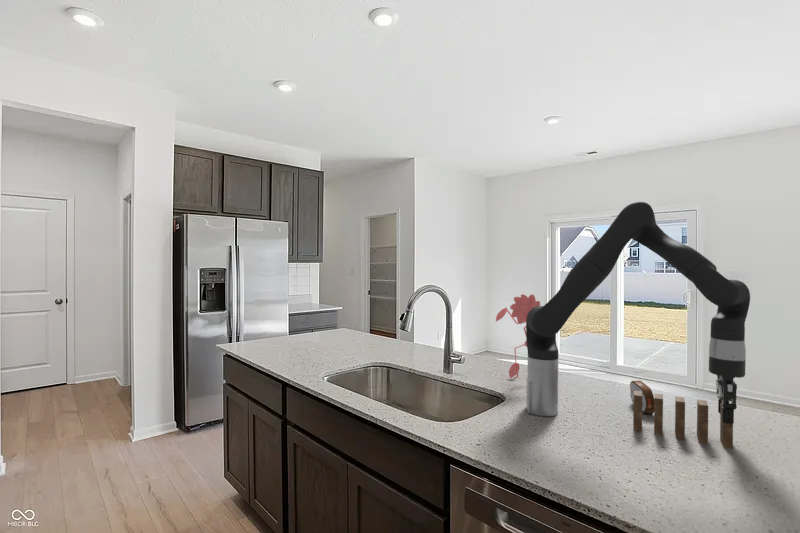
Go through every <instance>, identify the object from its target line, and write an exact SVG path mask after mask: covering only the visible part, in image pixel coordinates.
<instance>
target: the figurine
mask: <svg viewBox="0 0 800 533" xmlns="http://www.w3.org/2000/svg"><path fill="white" fill-rule="evenodd" d="M513 302H514V303H512V304H511V305H510V306H509V308H510V310H512V312H510V311H509V310H508V307H504V308H502V309H501V310H499V312H498V313H497V314H496V316H495V322H498V321H500V320H501V319H503V317H505V316H506V313H508V315H509V316H510V318H512V320H513V321H514V323H516V325H522V324H524V323H525V324H526V319H527V315H528V313H529V311H530V310H531V309H532V308H534V307H536V306H541V301H539V300H536V296H535V295H534V294H530V295H529V296H527V295H526V294H524V293H523V294H520V296H514V297H513ZM515 318H516V319H515ZM523 332H524V334H525V336H526V325H525V326H524V327H523ZM523 346H525V347H526V348H527V344H526V340H525V341H524V344H522V345H519V346H516V347H514V349H513V350H514V360H515V361H514V363H513V364H512V365H511V366H510V367H509V370H508V377H509V379H512V378H514V377H515V376H516V377H519V371H520V364H519V363H518V362H517V353H516V351H517V350H516V349H518V348H521V347H523Z"/></svg>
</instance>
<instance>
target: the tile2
mask: <svg viewBox="0 0 800 533" xmlns="http://www.w3.org/2000/svg"><path fill="white" fill-rule="evenodd" d="M653 396H654V413H653V420H654V421H653V424H654V425H653V435H656V436H662V437H663V434H664V433H663V432H664V431H663V429H664V428H663V426H664V420H663V419H664V395H663V394H661V393H656V392H655V393H654V394H653Z"/></svg>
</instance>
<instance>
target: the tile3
mask: <svg viewBox="0 0 800 533" xmlns="http://www.w3.org/2000/svg"><path fill="white" fill-rule="evenodd" d="M674 399H675V401H674V402H675V403H674V404H675V405H674V408H675V409H674V413H675V414H674V416H675V417H674V418H675V419H674V433H675V434H674V435H675V439H677V440H678V439H679V440H683V441H686V436H685V435H686V400H685V397H683V396H675V398H674Z"/></svg>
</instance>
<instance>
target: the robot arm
mask: <svg viewBox="0 0 800 533" xmlns="http://www.w3.org/2000/svg"><path fill="white" fill-rule="evenodd" d="M656 222H657V221H656V215H655V213H654V210H653V208H652V206H651V205H650V204H649V203H647V202H645V201H635V202H632V203H629V204H628V205H626V206H624V208H623V209H622V210H621V211H620V212H619V214H618V215H617V216H616V217H615V219H614V221H613V222H612V223H611V225H610V226H609V227H608V228H607V229H606V231H605V232H604V233H603V234H602V236H601V237H600V238H598V240H597V241H596V242H595V243H594V244H593V245H592V246H591V248H590V249H588V251H587V252H586V253H585V254H584V255H582V257H581V258H580V259H579V260H578V261H577V262H576V263H575V264H574V266H573V267H572V268H571V269H570V271H569V272H568V273H567V276H566V277H565V279H564V281H563V283H562V284H561V287H560V288H559V290H558V291H557V292H556V293H555V295H554V296H552V298H550V300H548V302H546V304H544V305H540V306H536V307H534V308H532V309H531V310H530V311H529V313H528V315H527V319H526V322H525V324H526V325H525V326H526V328H525V330H526V335H525V337H526V338H525V341H526V344H527V347H526V349H527V377H526V386H527V387H526V391H525V392H526V396H525V397H526V398H525V399H526V401H525V402H526V411H527V413H528V414H532V415H535V416H541V417H553V416H554V417H555V416H558V414H559V348H558V345H557V341H556V340H557V336H556V334H558V332H560V331H561V329H562V328H563V326H564V325H565V324H566V322H567V321H568V320H569V318H570V317H571V316H572V314H573V313H574V312H575V310H576V309H577V308H578V307H579V306H580V305H581V304H582V303H583V302H584V301H585V300H586V299H587V298H588V297H589V296H590V295H591V294H592V293H593V292H594V291H595V290H596V289H597V288H598V287H599V286H600V285H601V284H602V283H603V282H604V281H605V279H607V277H608V276H609V275H610V273H611V272H612V271H613V270H614V267H615V265H616V264H617V262H618V259H619V258H620V255H621V254H622V252H623V250H624V248H625V247H626V245H627V244H628V243H629V242H630V241H631V240H632V241H635V242H637V243H638V244H640V245H642V246H644V247H645V248H647V249H649V250H650V251H652V252H653V253H655V255H657V256H659V257H660V258H662V260H664V261H666V262H667V263H668V264H670V266H672V267H673V268H674V269H675V270H677V271H678V273H679V274H680V273H681V275H683V276H684V277H685V278H686V279H688V280H689V281H690V282H692V283H693V285H694V286H695V287H696V289H697V290H698V291H699V292H700V293H701V295H702V296H703V297H704V298H705V299H706V300H708V301H709V302H710V303H712V304H714V305H715V306H717V309H716V310H717V311H716V314H715V316H714V315H713V317H712V318H711V321H710V338H709V339H710V340H709V345H708V372H709V374H710V373H711V374H713V375H716V376H717V379H715V385H716V386H715V390H716V397H717V399H718V403H717V406H718V408H717V409H718V410H717V412H718V413H719V414H720V403H722V421H723V423H725V424H731V425H732V424H733V425H734V421H735V415H734V414H735V410H736V409H737V408H738V406H737V397H738V396H737V390H738V384H737V383H736V381H735V380H734V379H735V378H738V379H739V378H740V379H741V378H744V377H746V358H747V357H746V356H747V353H746V351H747V350H746V349H747V348H746V344H745V341H746V340H745V339H746V338H745V336H746V335H745V334H746V333H745V332H746V330H745V329H746V327H745V326H746V325H745V324H746V320H747V316H748V313H749V308H750V305H751V304H750V303H751V293H750V292H751V291H750V290H749V287H748V286H747V285H746V283H744V282H742V281H741V280H737V279H728V278H726V277H725V276H724V275H722V274H721V273H720V272H719V271H718V269H717V267H716V265H715V264H714V263H713V262H712V261H711V260H709V259H708V258H707V257H705V256H704V255H702V254H701V253H700V252H699V251H697V250H696V249H695V248H693V247H691V246H689V245H687V244H685V243H682V242H680V241H678V240H675V239H674V238H672V237H671V236H669V235H668V234H666V232H664V231H663V230H662V229H661V228H660V227H659V225H658V224H657V223H656Z"/></svg>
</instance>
